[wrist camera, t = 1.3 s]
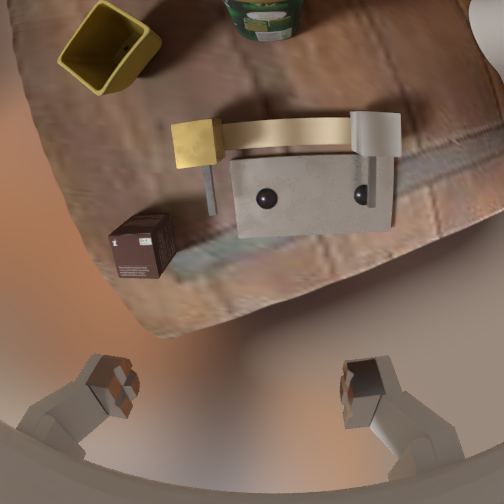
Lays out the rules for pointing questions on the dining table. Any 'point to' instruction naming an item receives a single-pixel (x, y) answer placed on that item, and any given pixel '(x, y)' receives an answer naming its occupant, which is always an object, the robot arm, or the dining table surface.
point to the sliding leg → (200, 150)
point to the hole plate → (310, 195)
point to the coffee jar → (265, 18)
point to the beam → (325, 136)
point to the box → (143, 246)
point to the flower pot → (109, 49)
